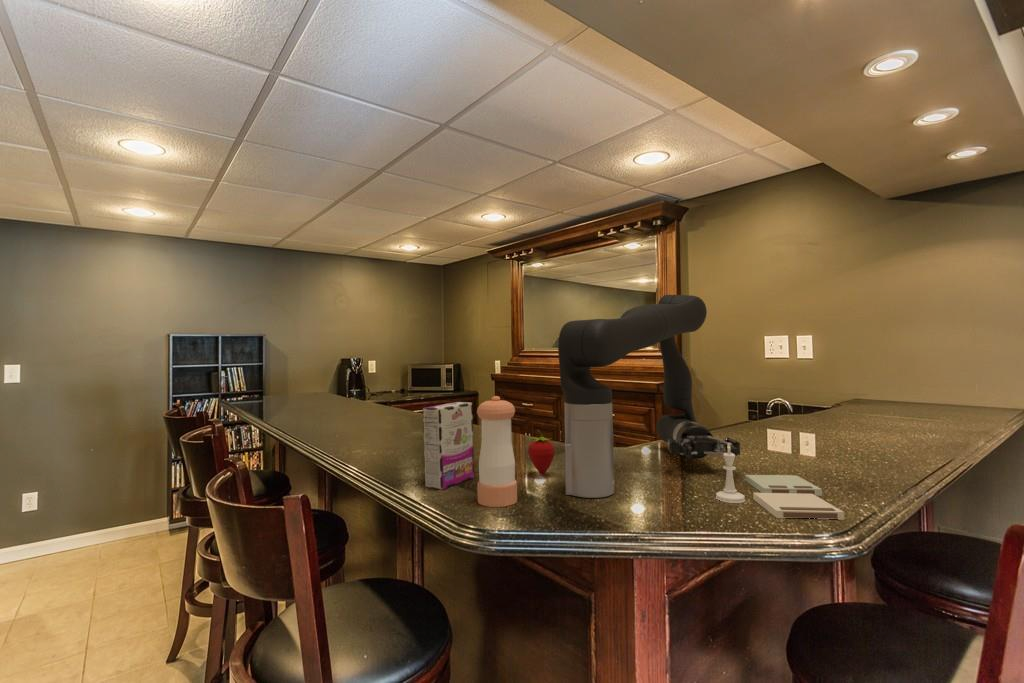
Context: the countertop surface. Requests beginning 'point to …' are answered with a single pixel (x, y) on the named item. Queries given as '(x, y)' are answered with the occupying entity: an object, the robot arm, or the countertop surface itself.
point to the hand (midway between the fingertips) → (711, 452)
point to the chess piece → (729, 482)
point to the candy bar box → (448, 444)
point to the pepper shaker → (496, 455)
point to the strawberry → (541, 453)
